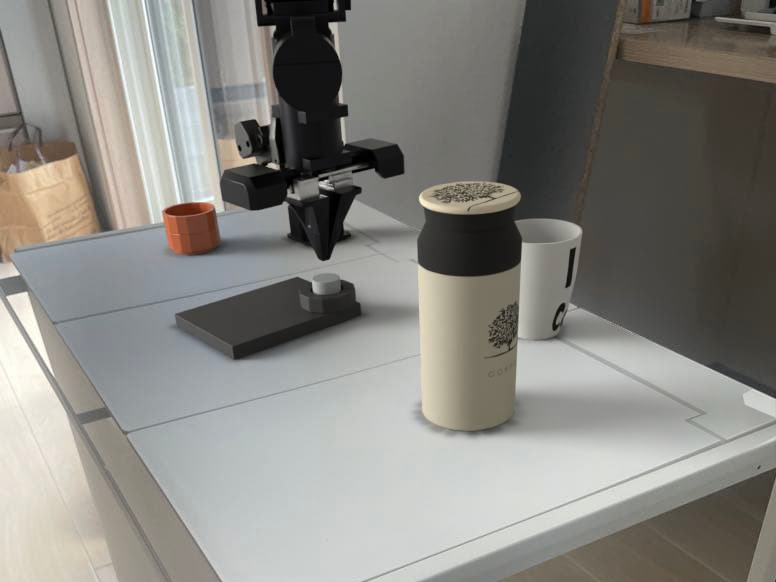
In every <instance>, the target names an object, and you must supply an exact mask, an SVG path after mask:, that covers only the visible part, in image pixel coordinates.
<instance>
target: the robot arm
mask: <svg viewBox="0 0 776 582" xmlns="http://www.w3.org/2000/svg"><path fill="white" fill-rule="evenodd" d="M263 2H264V4H263ZM334 4H335V0H254V6H255V19H256V25H257V27H258V28H261V27H275V29H274V31H273V32H272V36H271V37H270V41H271V42H270V43H271V49H272V80H273V82H274V87H275V88H276V93H277V102H278V103H277V104H271V106H270V107H271V109H270V120H271V121H270V122H271V123H269V124H266V125H260V124H259V122H258V120H257V119H256V118H252V119H246V120H241V121H238V122H237V123H235V124H234V125H233V127H234V139H235V145H236V149H237V152H238V154H239V156H240V158H241V159H243V160H245V159H251V158H255V161H256V163H255V162H254V163H249V164H245V165H244V164H243V165H239V166H236V167H231V168H227V169H226V168H225V169H223V173H222V176H221V178H220V180H219V189H220V195H221V201H222V202H225V203H228V204H231V205H234V206H236V207H239V208H242V209H244V210H247V211H250V212H251V211H262V210H265V209H270V208H275V207H278V206H283V203H287V204H288V205H287V214H288V221H289V230H290V232H288V233H287V234H286V236H287V238H288V239H290V240H293V241H296V242H299V243H300V244H304V245H306V246H308V247H312V249H313V251H314V253H315V255H316V257H317V259H318V260H319V261H322V262H326V261H329V260H330V259H331V257H332V255H333V252H334V249H335V246H336V244H337V241H340V240H344V239H348V238H351V237H352V232H350V231H348V230H345V226H344V222H345V220H346V218H347V216H348V213H349V211H350V210H351V207H352V205H353V202H354V201H355V199H356V197H357V195H361V194H362V192H363V188H362V187H361V186H359V185H355V184H354V178H353V174H358V173H361V172H366V171H370V170H374V172H375V173H376V174H377V176H378V177H380V178H381V179H383V180H385V179H390V178H394V177H398V176H402V175H405V173H406V171H405V154H404V153H403V151H402V149H401V148H400V146H399V145H398V143H394V142H390V141H386V140H381V139H376V138H372V137H370V138H365V139H360V140H356V141H355V140H354V141H351V142H346V143H344V140H343V132H342V120H341V118H347V117H349V104H347V103H342V102H340V91H341V87H342V84H343V66H342V61H341V59H340V57H339V54H338V52H337V50H336V43H335V41H336V40H335V33H333V32H332V29H331V27H330V24H331V23H332V24H333V23H346V22H347V14H346V13H347V12H346V11H352V0H336V6H337V9H335V5H334ZM263 5H264V7H265V8H266V13H264V11H263V10H264V9H263ZM269 164H274V165H277V166H279V169H276V168H273V167H270V166H268V165H269Z"/></svg>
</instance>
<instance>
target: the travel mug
mask: <svg viewBox="0 0 776 582" xmlns="http://www.w3.org/2000/svg"><path fill="white" fill-rule="evenodd" d="M521 198H522V194H521V192H520V191H519V190H518V189H517V188H515V187H513V186H511V185H509V184H505V183H500V182H494V181H484V180H483V181H480V180H471V181H470V180H469V181H468V180H466V181H453V182H448V183H446V182H445V183H442V184H437V185H434V186H431V187H428V188H427V189H425V190H423V191H422V192H421V193H420V194H419V197H418V200H419V203H420V204H421V206H422V209H423V213H424V219H425V222H424V224H423V226H422V228H421V229H420V233H419V235H418V237H417V240H416V243H417V244H416V245H417V251H416V253H417V280H418V281H417V283H418V284H417V285H418V286H417V287H418V314H419V315H418V316H419V346H420V347H419V351H420V382H421V383H420V384H421V385H420V386H421V388H420V390H421V412H422V414H423V416H424V417H425V418H426V420H428V421H429V422H431V423H433V424H435V425H437V426H439V427H442V428H445V429H448V430H452V431H453V430H454V431H464V432H476V431H481V430H486V429H491V428H494V427H497V426H500V425H501V424H503V423H505V422H507V421H508V420H509V419H511V417H512V416H513V415H514V413H515V409H516V389H517V388H516V387H517V367H518V363H517V362H518V343H519V342H518V341H519V338H518V321H519V299H520V276H521V254H522V236H521V234H520V232H519V230H518V228H517V225H516V223H515V221H516V220H515V215H516V209H517V206H518V203H519V202H520V201H521Z"/></svg>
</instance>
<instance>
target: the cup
mask: <svg viewBox="0 0 776 582" xmlns="http://www.w3.org/2000/svg"><path fill="white" fill-rule="evenodd" d="M514 221H515V223H516V225H517V228H518V230H519V232H520V234H521V236H522V254H521V276H520V299H519V321H518V339H522V340H529V341H541V340H548V339H551V338H553V337H556V336H557V335H558V334H559V332H560V330H561V328H562V325H563V322H564V320H565V318H566V315H567V313H568V310H569V307H570V303H571V299H572V296H573V295H572V294H573V292H574V286H575V283H576V279H577V273H578V266H579V260H580V253H581V245H582V238H583V228H582V227H581V226H580V225H578V224H576V223H574V222H571V221H567V220H563V219H555V218H525V219H519V220H514Z"/></svg>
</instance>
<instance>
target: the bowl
mask: <svg viewBox="0 0 776 582" xmlns="http://www.w3.org/2000/svg"><path fill="white" fill-rule="evenodd" d="M161 214H162V219H163V224H164V229H165V235H166V240H167V244H168V247H169V248H168V249H169V250H172V251H173V253H176V254H179V255H183V256H194V255H201V254H206V253H210V252H212V251H214V250H216V249H217V248H218V246H219V245H220V244H221V242H222V240H221V234H220V227H219V221H218V216H217V215H218V214H217V209H216V207H215V205H214V204H213V203H210V202H204V201H190V202H189V201H188V202H181V203H177V204H172V205H170V206H167V207H165V208H164V209H163V210H161Z"/></svg>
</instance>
